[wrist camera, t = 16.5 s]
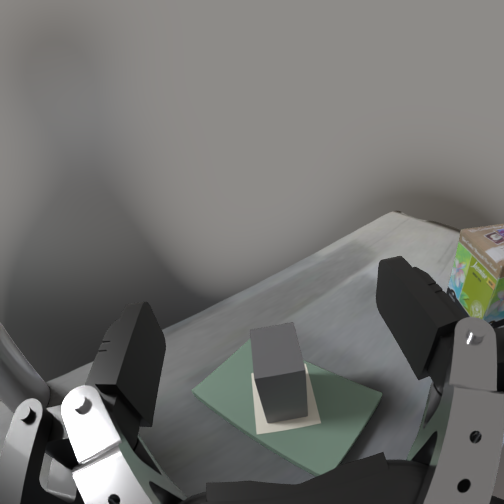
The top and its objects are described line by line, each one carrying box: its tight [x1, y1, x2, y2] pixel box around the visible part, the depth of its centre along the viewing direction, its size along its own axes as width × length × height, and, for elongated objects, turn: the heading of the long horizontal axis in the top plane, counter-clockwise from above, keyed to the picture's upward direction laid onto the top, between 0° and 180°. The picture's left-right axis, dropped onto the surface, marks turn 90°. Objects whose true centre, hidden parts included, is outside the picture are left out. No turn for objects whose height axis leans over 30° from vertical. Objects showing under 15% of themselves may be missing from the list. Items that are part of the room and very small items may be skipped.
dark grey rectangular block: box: [250, 322, 308, 423], centre depth 28 cm, size 6×4×9 cm
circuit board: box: [191, 339, 383, 477], centre depth 30 cm, size 20×12×4 cm, turn 49°
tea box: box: [446, 224, 504, 328], centre depth 30 cm, size 15×10×15 cm, turn 90°
